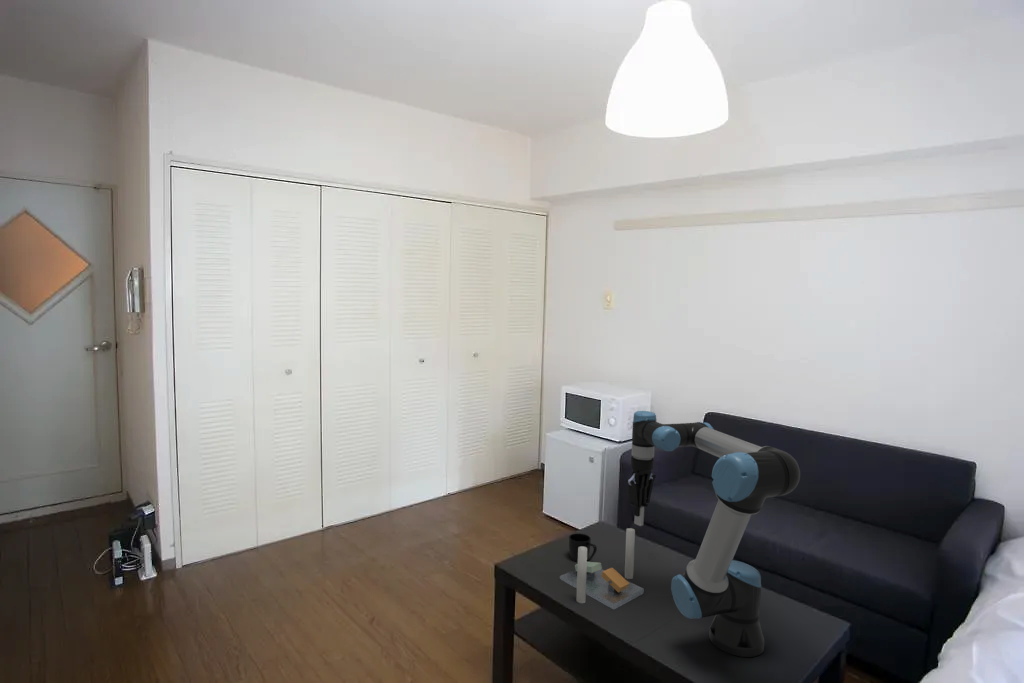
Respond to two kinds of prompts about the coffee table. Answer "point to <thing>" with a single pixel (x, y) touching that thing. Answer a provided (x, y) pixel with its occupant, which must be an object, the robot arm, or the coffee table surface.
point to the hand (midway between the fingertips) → (638, 524)
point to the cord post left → (581, 574)
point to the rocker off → (615, 579)
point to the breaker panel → (604, 589)
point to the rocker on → (591, 566)
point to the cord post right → (629, 553)
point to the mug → (578, 541)
